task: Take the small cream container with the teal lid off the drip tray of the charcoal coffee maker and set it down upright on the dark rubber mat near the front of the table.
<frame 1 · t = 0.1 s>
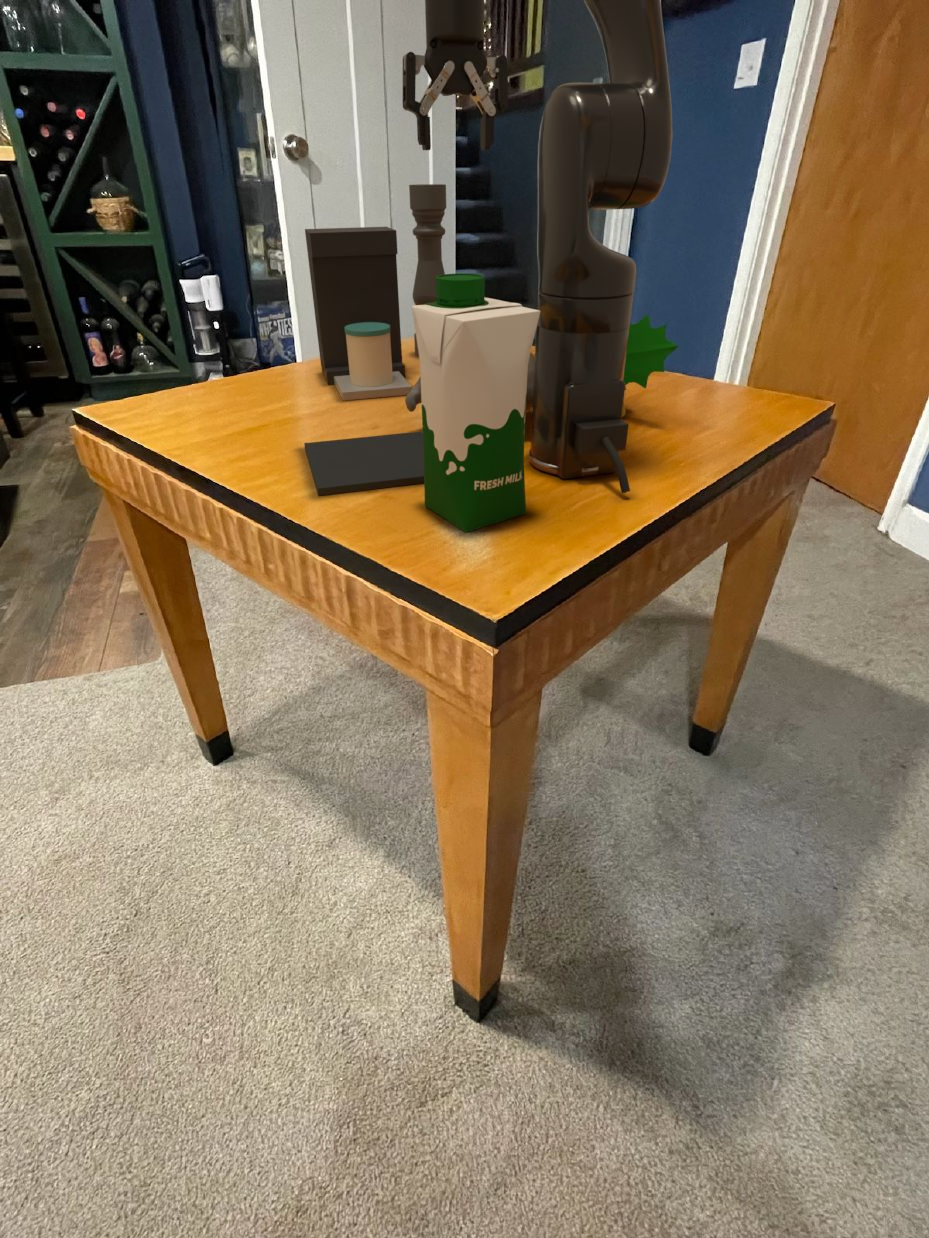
hand: (456, 150, 96), 29 cm above the table, tool pointing down, fingers open, 8 cm apart
piggy bank: (492, 423, 88), on the table
container: (371, 381, 101), point 1 cm above the table, touching coffee maker
coffee maker: (368, 383, 104), on the table
fresh milk carton: (474, 512, 66), on the table
candle holder: (432, 355, 120), on the table
ornament: (598, 413, 92), on the table
mat: (374, 464, 76), on the table
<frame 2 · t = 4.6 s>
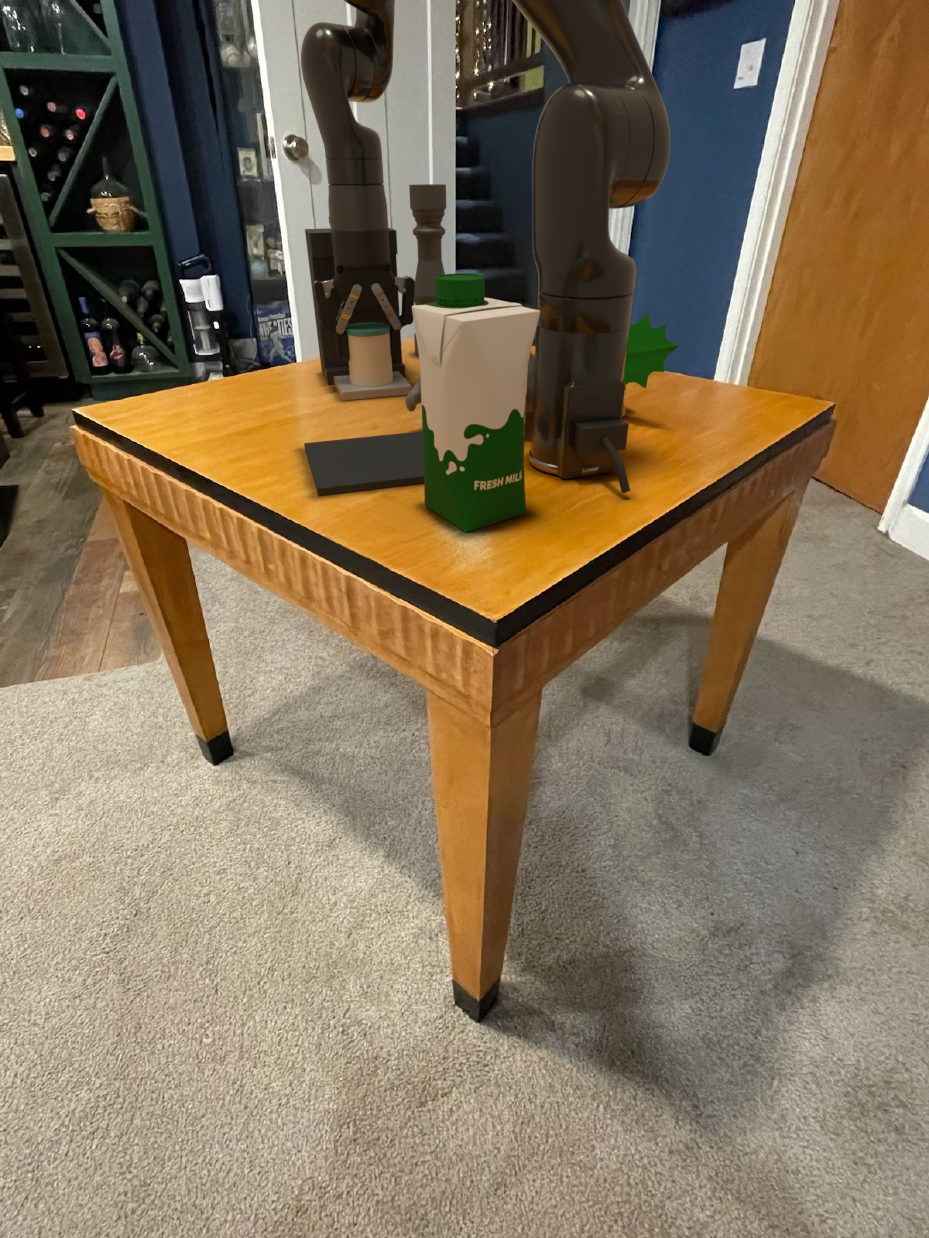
hand: (370, 358, 99), 4 cm above the table, tool pointing down, fingers closed on container, 6 cm apart
container: (371, 381, 101), point 1 cm above the table, touching coffee maker, gripper
everything else where it was.
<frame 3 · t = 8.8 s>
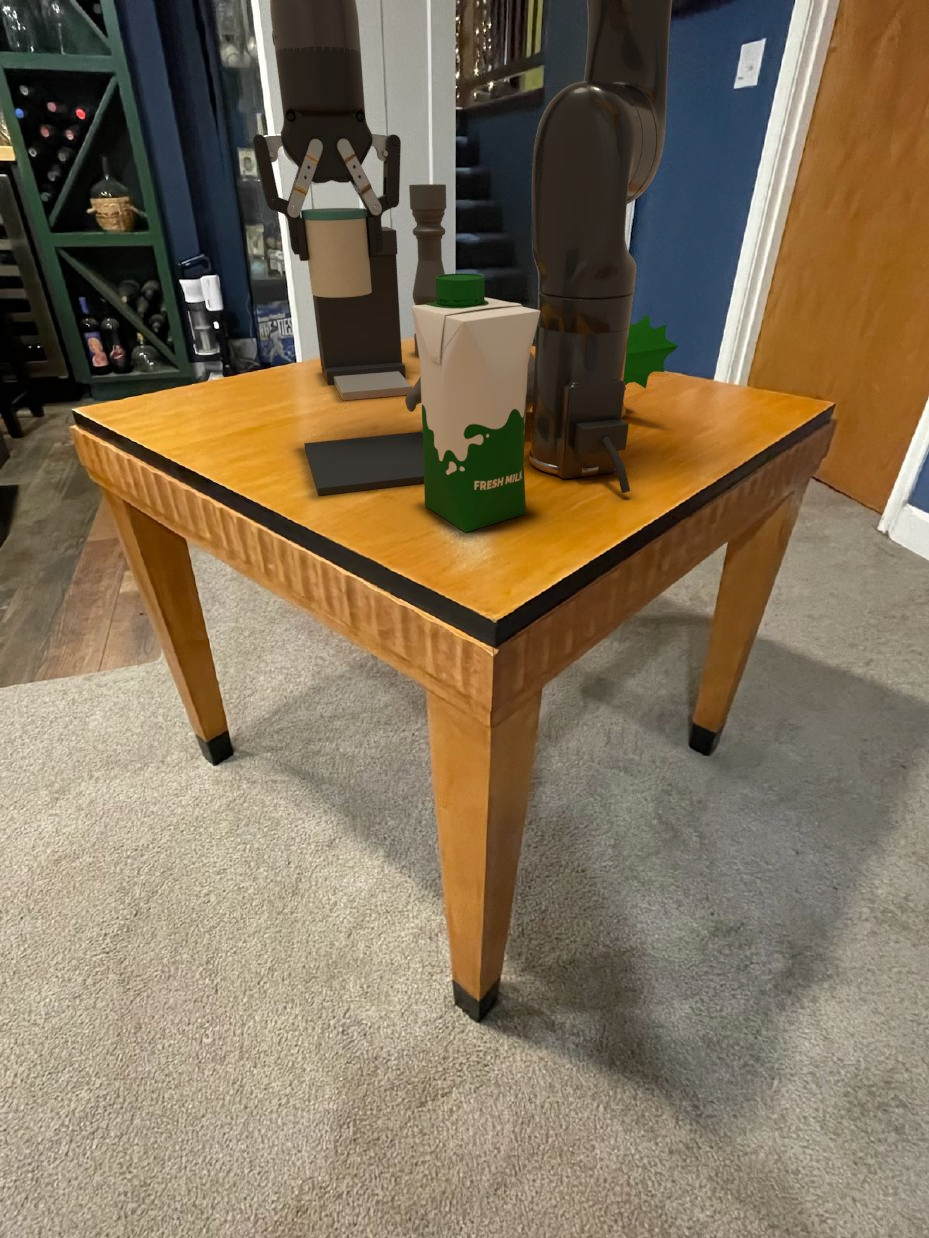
hand: (338, 258, 70), 20 cm above the table, tool pointing down, fingers closed on container, 6 cm apart
container: (342, 293, 72), point 17 cm above the table, touching gripper
everything else where it was.
when the fingers open (4 cm above the table, at t = 13.2 s): container stays where it is, resting on mat.
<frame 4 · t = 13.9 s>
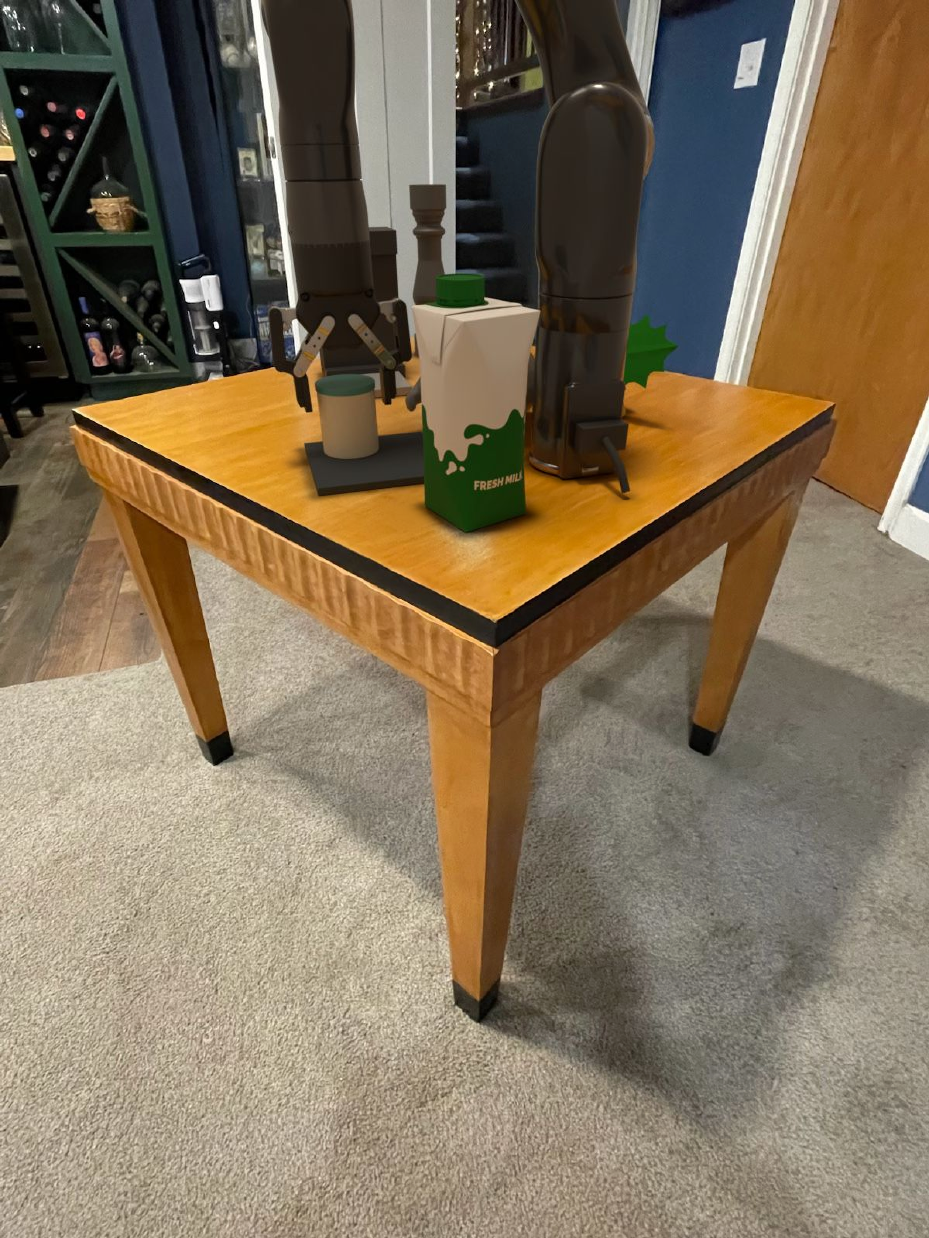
hand: (348, 407, 75), 6 cm above the table, tool pointing down, fingers open, 8 cm apart
container: (351, 449, 78), point 1 cm above the table, touching mat
everything else where it was.
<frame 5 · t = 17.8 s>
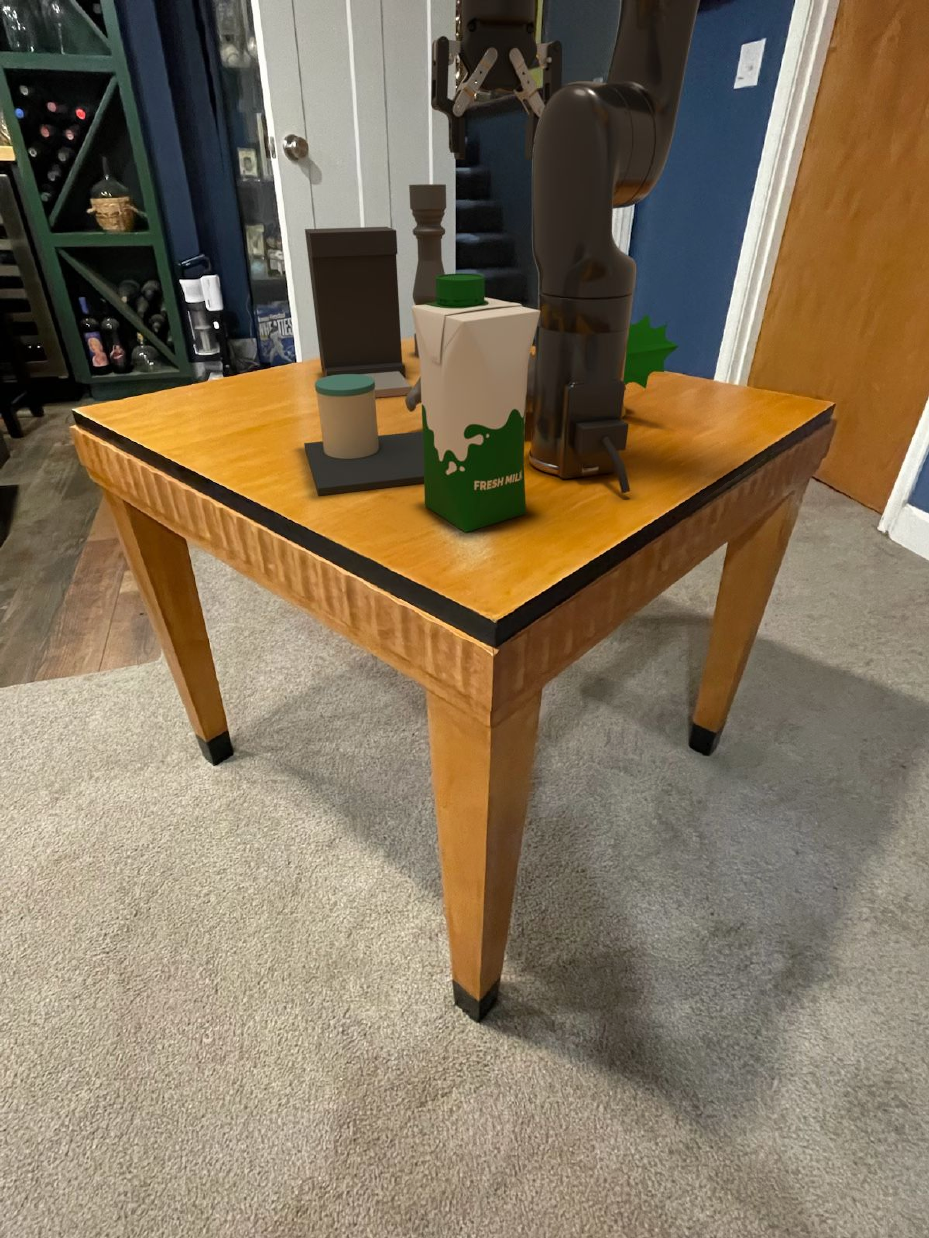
hand: (495, 159, 78), 28 cm above the table, tool pointing down, fingers open, 8 cm apart
nothing on the table moved.
at the end: container inside the target area on the mat (3.1 cm from its centre), point 0.8 cm above the mat's base; container tilted 0°; the gripper is holding nothing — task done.
